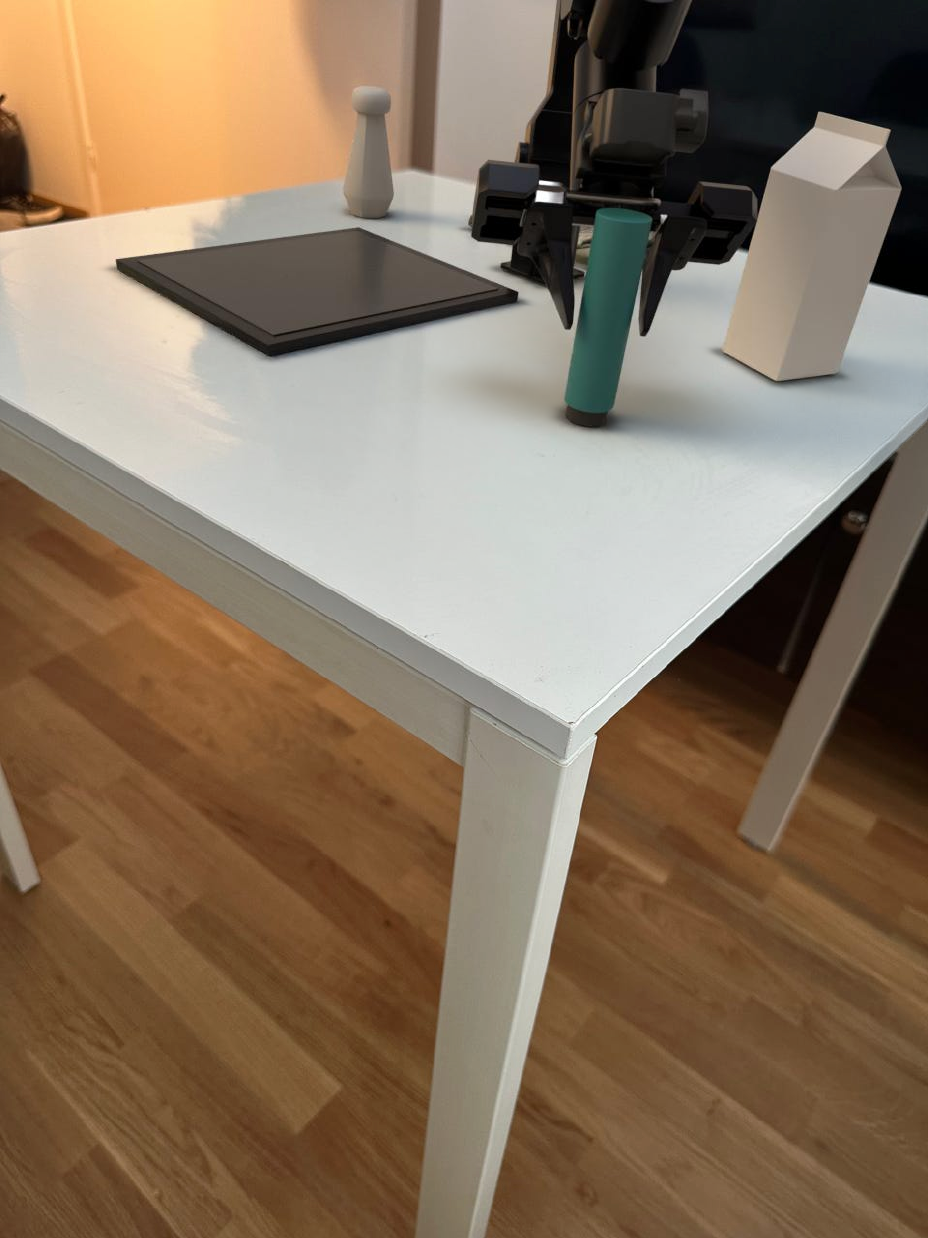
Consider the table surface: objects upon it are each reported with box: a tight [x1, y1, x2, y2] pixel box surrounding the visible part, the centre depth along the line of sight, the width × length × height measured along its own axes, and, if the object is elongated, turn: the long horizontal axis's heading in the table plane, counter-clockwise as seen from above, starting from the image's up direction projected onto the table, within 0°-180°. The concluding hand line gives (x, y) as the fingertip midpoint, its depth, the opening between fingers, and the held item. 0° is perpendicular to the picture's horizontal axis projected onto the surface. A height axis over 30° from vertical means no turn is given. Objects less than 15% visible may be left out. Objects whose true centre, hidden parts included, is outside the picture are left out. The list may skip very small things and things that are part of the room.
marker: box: [563, 208, 652, 428], centre depth 63 cm, size 4×4×14 cm
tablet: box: [115, 226, 520, 357], centre depth 85 cm, size 28×24×1 cm
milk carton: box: [721, 111, 903, 382], centre depth 75 cm, size 7×7×19 cm
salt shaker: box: [342, 85, 395, 219], centre depth 105 cm, size 6×6×13 cm
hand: (606, 330), depth 62 cm, fingers open, 5 cm apart
